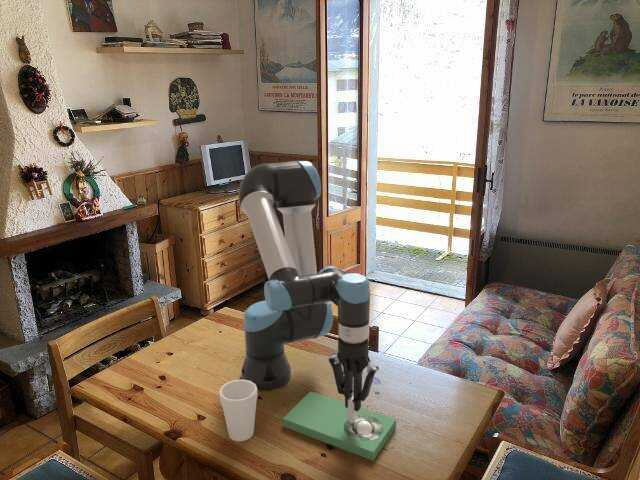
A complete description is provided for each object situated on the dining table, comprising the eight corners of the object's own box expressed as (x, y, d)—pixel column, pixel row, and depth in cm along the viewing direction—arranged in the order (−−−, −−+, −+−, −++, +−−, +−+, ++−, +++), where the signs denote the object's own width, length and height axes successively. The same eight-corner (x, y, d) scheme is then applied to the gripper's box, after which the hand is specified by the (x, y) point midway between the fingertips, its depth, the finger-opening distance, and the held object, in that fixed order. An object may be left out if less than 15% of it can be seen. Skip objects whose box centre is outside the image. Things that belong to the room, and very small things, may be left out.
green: (283, 426, 137) (282, 418, 137) (310, 398, 149) (310, 391, 148) (373, 460, 125) (373, 452, 124) (395, 427, 136) (396, 419, 135)
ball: (354, 420, 132) (370, 419, 132) (357, 421, 136) (372, 420, 135) (356, 437, 131) (371, 436, 130) (358, 438, 134) (374, 436, 134)
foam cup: (243, 450, 129) (240, 405, 125) (215, 437, 134) (211, 393, 130) (266, 429, 136) (264, 386, 132) (239, 417, 141) (236, 375, 137)
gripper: (322, 337, 126) (323, 419, 134) (371, 350, 120) (369, 436, 127) (337, 324, 133) (337, 404, 140) (384, 336, 126) (382, 419, 134)
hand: (352, 419), depth 134 cm, fingers closed
